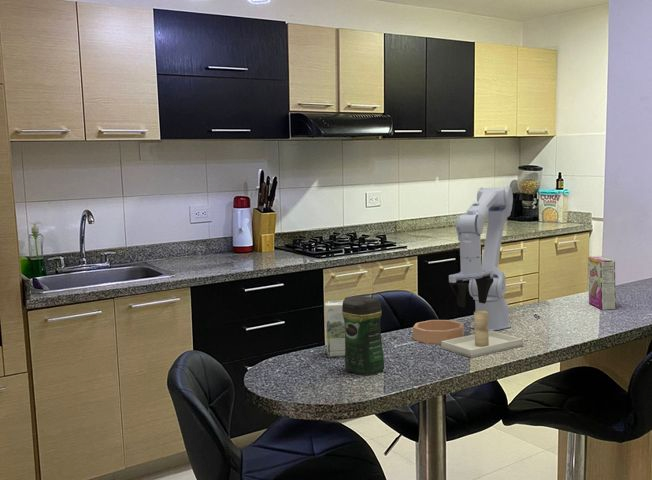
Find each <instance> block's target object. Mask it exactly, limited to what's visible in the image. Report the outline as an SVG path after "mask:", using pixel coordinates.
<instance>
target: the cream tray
mask: <svg viewBox="0 0 652 480" xmlns="http://www.w3.org/2000/svg"><path fill="white" fill-rule="evenodd" d="M488 338H489V346H485V347H478V346H475V333H474V334H470V335H469V334H468V335H464V337H459V338H454V339H450V340H445V341H441V349H442V350H445V351H449V352H451V353H454V354H458V355H461V356H464V357H467V358H470V359H473V358H477V357H478V358H479V357H482V356H486V355H491V354H495V353H499V352H502V351H503V352H504V351H508V350H512V349H515V348H520V347H524V338H521V337H517V336H513V335H510V334H507V333H501V332H498V331H496V330H495V331H488Z"/></svg>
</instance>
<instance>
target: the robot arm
mask: <svg viewBox="0 0 652 480" xmlns="http://www.w3.org/2000/svg"><path fill="white" fill-rule="evenodd" d="M513 195H514V193H513V190H512V188H511V187H510V186H509V185H508V186H499V187H498V186H497V187H480V188H479V189H478V190H477V193H476V201H475V202H473V203H472V204H471V205H470V206H469V208H468V209H467V210H466V212H465V213H464V214H459V216H457V218H456V220H455V221H456V222H455V231H456V234H457V240H458V242H459V256H460V271H459V272H457V273H454V274H449V275H448V283H449V286H450V288H451V290H452V291H453V294H454V295H455V299H456V303H457V306H458V307H460V308H466V300H467V299H466V296H467V289H468V292H469V296H470V297H472V298H473V300H474V301H475V302H474V303H475V305H474V306H475V311H487V312H488V331H495V332H496V331H498V330H504V329H508V328H511V327H512V325H510V316H509V315H510V314H509V311H510V310H509V304H508V301H507V300H506V299H505V298H504V297H505V296H506V290H507V289H506V288H507V287H506V286H507V285H506V281H507V280H506V278H507V277H506V275H505V274H504V272H503V271H502V270H501V269H500V268H498V267H499V261H500V254H501V247H502V239H503V232H504V227H505V222H506V219H507V218H509V217H510V216H511V212H512V209H513V202H514V197H513ZM486 220H487V227H486V233H485V234H486V235H485V239H484V247H483V253H482V246H481V245H482V244H481V243H482V241H481V237H482V236H481V235H482V234H483V231H484V226H485V222H486ZM464 281H469V283H465V282H464ZM469 328H471V329H474V324H473V325H470V326H469Z"/></svg>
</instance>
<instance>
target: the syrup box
mask: <svg viewBox="0 0 652 480" xmlns="http://www.w3.org/2000/svg"><path fill="white" fill-rule="evenodd" d="M343 301H344V299H343V300H328V301H327V300H326V301H324V314H325V315H324V316H325V318H324V319H325V333H326V353H327V357H328V358H341V357H342V358H343V357H344V358H345V324H344V318H343V314H342V305H343Z"/></svg>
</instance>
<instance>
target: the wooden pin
mask: <svg viewBox="0 0 652 480" xmlns="http://www.w3.org/2000/svg"><path fill="white" fill-rule="evenodd" d="M473 321H474V322H473V323H474V324H473V325H474V328H473V330H474V334H475V346H478V347H485V346H489V338H488V312H487V311H476V310H475V311H474V312H473Z"/></svg>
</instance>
